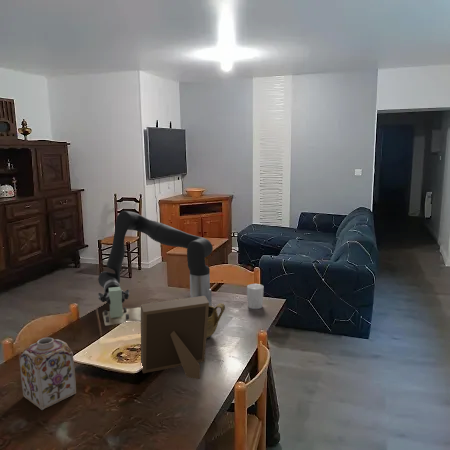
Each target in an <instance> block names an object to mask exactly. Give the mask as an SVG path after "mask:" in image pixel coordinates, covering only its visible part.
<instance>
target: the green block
mask: <svg viewBox="0 0 450 450" xmlns="http://www.w3.org/2000/svg"><path fill="white" fill-rule="evenodd" d="M120 287H121V286H120ZM120 287H112V288H109V298H110V303H111V304H109V311H110V315H111V318H114V317H122V316H123V303H122V291H123V290H122V287H121V288H120ZM121 290H122V291H121Z"/></svg>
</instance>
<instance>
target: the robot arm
mask: <svg viewBox="0 0 450 450" xmlns="http://www.w3.org/2000/svg"><path fill="white" fill-rule="evenodd" d="M128 230H129V231H136V232H139V233H141V234H142V233H143V234H145V235H146V236H148V237H149V238H150V239H152V240H153V241H154V242H156V243H159V244H161V245H163V246H164V245H165V246H169V247H175V248H183V249H186V257H187V268H188V270H189V293H190V294H189V295H190V297H189V298H192V297H199V296H205V297H206V298H207V300H208V302H209V306H212V304H213V303H212V302H213V301H212V289H211V282H210V281H211V276H210V275H211V274H210V270H211V269H210V267H209V266H208V264H207V265H206V258H207V257H208V256H210V255H211V254H212V252H213V250H214V247H213V243H212V242H211V241H210V240H209V239H207V238H205V237H202V236H198V235H193V234H191V233H188V232H185V231H182V230H180V229H177V228H175V227H172V226H171V225H168V224H165V223H163V222H159V221H156V220H152V219H148V218H147V217H145V216H143V215H141V214H139V213H137V212H135V211H129V210H122V211H120V212H119V213H118V214H117V217H116V220H115V227H114V231H113V232H114V233H113V239H112V240H113V241H112V246H111V248H110V249H111V250H110V253H109V256H108V260H107V262H106V267H108V268H109V269H111V270H113V271H114V272H110V271H106V270H105V271H102V272H100V273H99V275H98V280H97V281H98V284H99V285H100V287H102V288H103V292H104V293H101V292H99V293H98V294H97V295H98V300H99V301H100V302H102V303H105V302H106V304H107V305H110V304H111V303H110V298H109V288H112V287H120V288H121V291H122V304H124V303H125V301H126V300H128V299H129V297H130V290H129V289H127V290H123V289H122V287H121V285H120V282H121V268H122V264H123V262H124V259H125V258H124V257H125V253H126V251H125V250H126V248H125V238H126V235H127V232H128ZM212 307H213V306H212Z"/></svg>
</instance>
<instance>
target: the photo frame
mask: <svg viewBox="0 0 450 450" xmlns="http://www.w3.org/2000/svg"><path fill="white" fill-rule="evenodd" d="M176 299H177V298H176ZM140 307H141V321H140V364H141V363H142V366H143V369H142V368H141V371H142V374H146V373H147V374H149V373H153V372H156V371H162V370H167V369H173V368H174V369H175V368H179V367H182V369H183V372H184V374H185V377H186V379H197V380H198V379H199V380H200V378H201V365H200V363H203V362H206V361H205V359H206V348H207V339H206V336H207V323H208V310H209V302H208V300H207V298H206V297H205V296H199V297H192V298H190V297H185V298H178V299H177V300H175V299H171V300H165V301H157V302H156V301H155V302H149V303H141V304H140Z"/></svg>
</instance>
